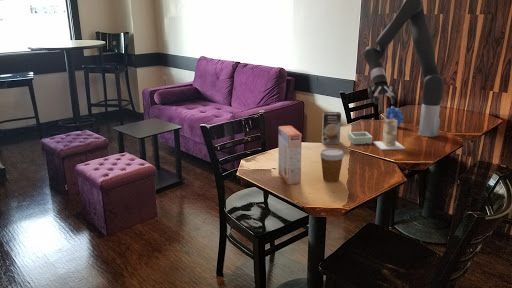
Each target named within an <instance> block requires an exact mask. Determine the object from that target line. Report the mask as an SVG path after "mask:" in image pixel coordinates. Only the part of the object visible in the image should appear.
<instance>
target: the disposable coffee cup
mask: <svg viewBox="0 0 512 288" xmlns="http://www.w3.org/2000/svg"><path fill="white" fill-rule="evenodd" d="M320 151H321V152H319V157H320V160H321V170H322V171H321V172H322V178H323V179H322V180H323V181H325V182H327V183H338V182H339V180H340V177H341V175H340V174H341V170H342V165H343V159H344V156H345V154H344V152H343V150H341V149H339V148H333V147H332V148H331V147H330V148H323V149H321V150H320Z"/></svg>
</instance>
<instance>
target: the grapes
mask: <svg viewBox="0 0 512 288" xmlns="http://www.w3.org/2000/svg"><path fill="white" fill-rule="evenodd" d="M384 116H385V117H386V119H395V120H397V121H398V122H397V127H400V126H401V124H403V123H404V113H402V112H401V109H400V108H399V107H397V108H396V107H395V106H393V105H391V107H387V108H386V112H385V113H384Z"/></svg>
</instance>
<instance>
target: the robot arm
mask: <svg viewBox="0 0 512 288" xmlns="http://www.w3.org/2000/svg"><path fill="white" fill-rule="evenodd" d="M424 7H425V6H424V1H423V0H403V3H402V5H401V7H400V8H399V9H398V12H397V13H396V14H395V16H394V18H393V19H392V20H391V21H390V23H389V24H388V25H387V26H386V28H385V29H384V30H383V31H382V32H381V34H380V35H379V36H378V38H377V39H376V41H375V42H376V44H377V48H375V47H374V46H372V45H371V46H367V47H365V49H364V51H363V58H364V61H365V62H366V64H367V66H368V67H369V73H370V79H371V82H372V86H371V85H369V86H368V88H367V92H368V98H369V99H373V103H374V104H375V105H378V102H379V100H378V97H377V96H378V95H383V96H384V95H385V96H387V97H389V99H390V103H391V104H392V105H394V103H395V102H396V99H395V97H397V95H398V93H397V90H396V87H395V85H394V84H393V85H392V86H391V85H389V82H388V80H387V79H388V78H387V74H386V72H385V70H384V66H383V63H382V61H381V60H382V59H383V57H384V56H385V53H386V51H387V49H388V46H389V45H390V44H391V43H392V42H393V40H394V39H395V38H396V37H397V36H398V34H399V32H400V30H401V29H402V28H403V27H404V25H405V24H406V23H407V22H408V21H409V22H410V25H411V26H410V27H411V38H412V40H411V41H412V45H413V48H414V52H415V55H416V57H417V60H418V62H419V64H420V67H421V71H422V76H423V77H422V78H423V91H422V99H421V106H420V107H421V109H420V116H419V126H418V135H420V136H422V137H429V138H430V137H431V138H433V137H437V136H439V133H440V132H439V131H440V124H441V123H440V122H441V119H440V109H441V101H442V98H443V89H444V80H443V78H442V76H441V75H440V72H439V69H438V66H437V63H436V62H437V61H436V53H435V51H436V50H435V47H434V42H433V39H432V34H431V33H430V28H429V26H428V24H427V21H426V20H427V19H426V17H425V10H424ZM373 91H374V94H373Z"/></svg>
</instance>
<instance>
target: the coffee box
mask: <svg viewBox="0 0 512 288" xmlns="http://www.w3.org/2000/svg"><path fill="white" fill-rule="evenodd" d="M341 123H342V113H341V112H340V111H322V123H321V124H322V125H321V126H322V127H321V128H322V130H321V144H323V145H340V143H341V142H340V139H341V127H342V124H341Z"/></svg>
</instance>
